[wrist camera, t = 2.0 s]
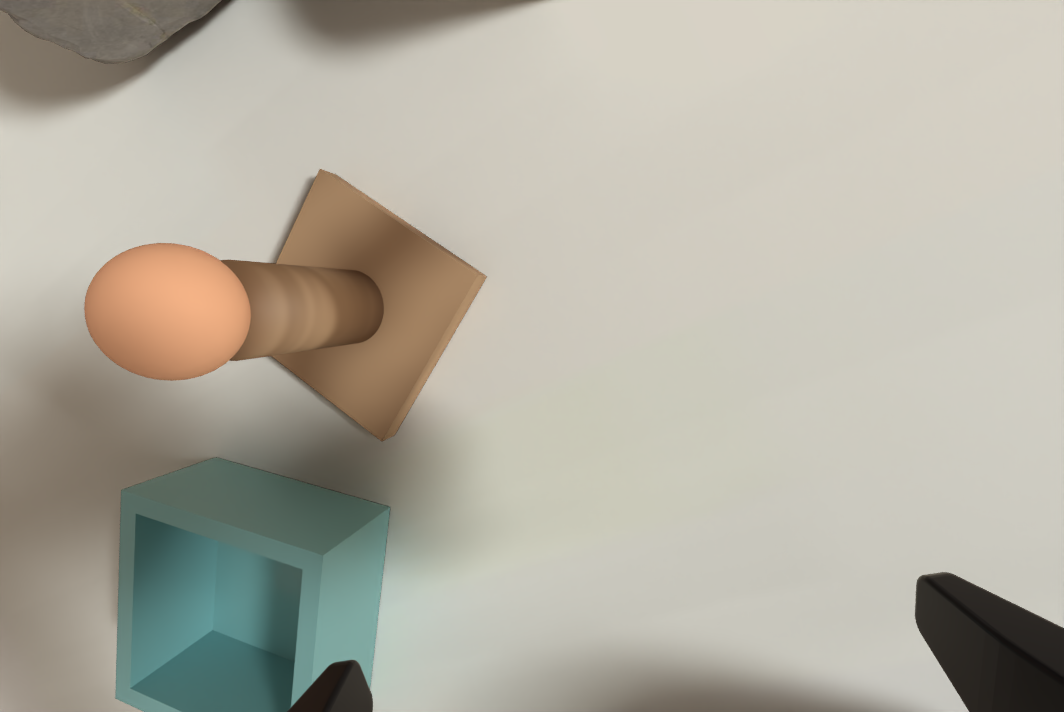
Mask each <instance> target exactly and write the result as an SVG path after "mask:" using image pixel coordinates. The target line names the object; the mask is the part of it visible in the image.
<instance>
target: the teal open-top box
mask: <svg viewBox="0 0 1064 712" xmlns="http://www.w3.org/2000/svg"><path fill="white" fill-rule="evenodd" d="M389 513H390V507H388V506H384V505H381V504H377V503H374V502H370V501H367V500H363V499H360V498H356V497H353V496H349V495H346V494H342V493H339V492H336V491H332V490H329V489H325V488H322V487H318V486H315V485H311V484H308V483H304V482H301V481H297V480H294V479H290V478H287V477H283V476H280V475H276V474H273V473H269V472H266V471H262V470H259V469H255V468H252V467H248V466H245V465H241V464H238V463H234V462H231V461H227V460H224V459H220V458H217V457H215V458H212V459H209V460H207V461H204V462H201V463H198V464H195V465H192V466H189V467H186V468H183V469H180V470H177V471H175V472H172V473H169V474H166V475H163V476H160V477H157V478H154V479H151V480H148V481H146V482H143V483H140V484H137V485H134V486H131V487H128V488H125V489H122V490H121V515H120V551H119V588H118V624H117V660H116V697H115V699H118V700H120V701H122V702H124V703H126V704H128V705H131V706H133V707H135V708H137V709H139V710H142V711H144V712H287V711H288V710H289V709H290V708H291V707H292V705H293V704H294V703H295V702H296V701H297V700H298V699H299V698H300V697H301V696H302V694H303V693H304V692H305V691H306V690H307V689H308V688H309V687H310V686H311V685H312V683H313V682H314V681H315V680H316V679H317V678H318V677H319V676H320V675H321V674H322V672H323V671H324V670H325V669H326V668H327V667H328V666H329V665H330V664H332V663H334V662H339V661H346V660H356V661H357V662H358V663H359V664H360V666H361V669H362V671H363V674H364V676H365V679H366V681H367V684H368V686H369V689H370V684H371V675H372V666H373V657H374V648H375V639H376V630H377V621H378V612H379V603H380V594H381V585H382V576H383V567H384V558H385V549H386V540H387V531H388V522H389Z"/></svg>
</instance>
